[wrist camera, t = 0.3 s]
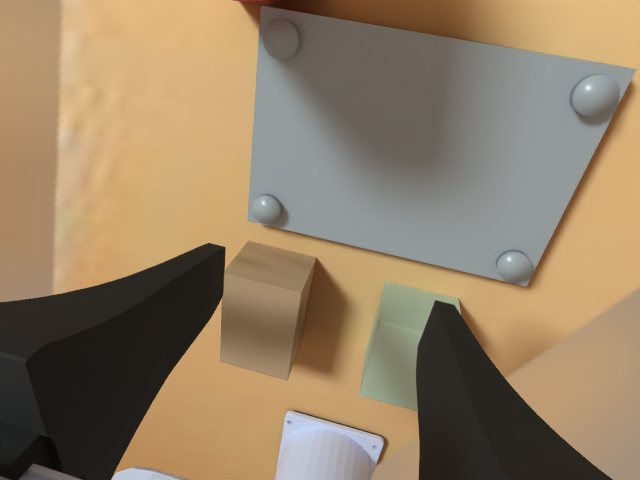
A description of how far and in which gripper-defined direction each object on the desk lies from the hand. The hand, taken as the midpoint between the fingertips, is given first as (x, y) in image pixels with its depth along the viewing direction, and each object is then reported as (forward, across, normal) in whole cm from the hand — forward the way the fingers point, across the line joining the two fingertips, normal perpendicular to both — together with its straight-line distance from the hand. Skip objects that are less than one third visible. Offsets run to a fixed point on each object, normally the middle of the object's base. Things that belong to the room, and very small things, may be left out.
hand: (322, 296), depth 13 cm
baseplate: (+10, -2, -3) cm, 11 cm away
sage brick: (+10, -5, +8) cm, 14 cm away
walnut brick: (+10, +4, +8) cm, 14 cm away
